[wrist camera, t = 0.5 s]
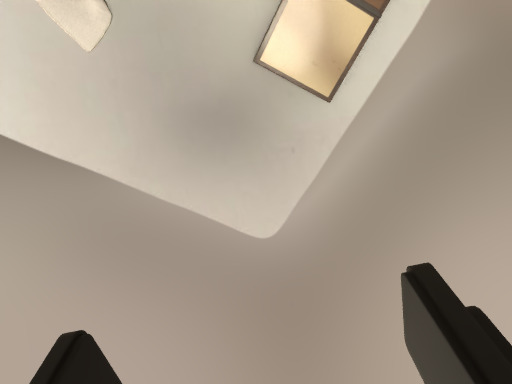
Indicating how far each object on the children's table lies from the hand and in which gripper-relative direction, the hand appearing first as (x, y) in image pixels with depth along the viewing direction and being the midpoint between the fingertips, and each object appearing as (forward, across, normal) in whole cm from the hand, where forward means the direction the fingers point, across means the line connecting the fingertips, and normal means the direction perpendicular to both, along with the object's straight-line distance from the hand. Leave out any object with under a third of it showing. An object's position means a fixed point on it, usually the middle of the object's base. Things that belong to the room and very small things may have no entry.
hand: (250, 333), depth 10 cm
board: (+29, -11, -9) cm, 33 cm away
